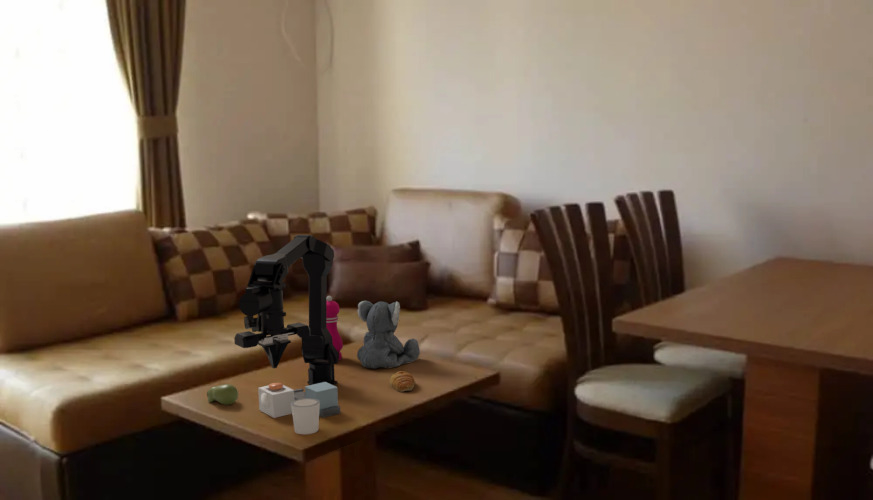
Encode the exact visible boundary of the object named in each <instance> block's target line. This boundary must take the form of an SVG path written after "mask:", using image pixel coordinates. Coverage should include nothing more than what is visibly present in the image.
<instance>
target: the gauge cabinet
mask: <svg viewBox="0 0 873 500" xmlns="http://www.w3.org/2000/svg"><path fill="white" fill-rule="evenodd" d="M257 389H258V390H257V391H258V392H257V394H258V408H259V411H260V412H262V413H264V414H266V415H268V416H270V417H271V418H273V419H276V418H279V417H283V416H287V415H292V408H291V403H292V402H293V401H295V400H294V390H295V389H293V388H291V387H289V386H286V385H284V384H283V388H282V390H281V391H276V392H271V391H270V389H269V384H268V385H265V386H259V387H257Z"/></svg>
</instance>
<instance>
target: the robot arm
mask: <svg viewBox="0 0 873 500" xmlns="http://www.w3.org/2000/svg"><path fill="white" fill-rule="evenodd" d="M334 257H335V251H334V249H333V248H332V247H331V245H330V244H328V243H327V242H324V241H322V240H319V239H317V238H316V237H315V236H313V235H312V234H296V235H294V237H293V239H291V241H289V242H288V243H287V244H285V245H284V246H282V247H281V248H280V249H279V250H278V251H276V252H275V253H273V254H267V255H264V256H261V257H259V258H258V259H257V260H256V261H255V263H254V264H253V267H252V270H251V273H250V276H249V280H248V282H247V286H246V288H245V293H244V294H243V295H242V296H241V297H240V299H239V301H238V307H239V309H240V311H241V313H242V314H243V315H245V316H244V317H243V320H244V321H243V324H244V328H245V329H246V330H248V331H243V332H237V333H236V334H235V336H234V337H233V338H234V345H236V346H238V347H240V348H243V349H249V348H254V347H258V346H261V347H262V348H263V350H264V351H265V353H266V354H265V355H266V356H267V358H268V361H269V363H270V366H271V368H272V369H277V368H278V366H279V363H280V361H281V358H282V357H283V354H284V352H285V350H286V348H287V347H288V345H289V344H291V343H292V341H291V340H290V339H289V336H295V335H296V336H297V337H298V338H299V339H301V348H300V349H301V354H302V358H303V362H304V364H309V368H308V370H307V372H308V373H307V375H308V378H307V379H308V380H307V381H306V383H307V384H309V385H313V384H318V383H322V382H327V383H329V384H331V385H337V384H338V383H339V382H338V381H337V380H335V365H337V364H338V362H339V361H340V360H339V353H338V351H337V350H336V349H335V347H334V346H333V341H332V336H331V334H330V332H329V331H328V329H327V326H326V320H327V296H328V295H327V291H328V288H327V286H328V285H327V282H328V281H327V280H328V279H327V277H328V275H329V273H330V271H331V269H332V267H333V266H334V265H333V264H334V263H333V262H334V259H335V258H334ZM299 259H302V268H303V269H304V270H305V272H306V274H307V275H308V325H307V324H305V323H303V322H294V323H289V324H287V325H286V327H285V318H284V317H286V316H287V312H286V311H284V298H283V297H284V296H283V293H284V292H283V288H286V287H287V284H286V283H285V282H284V280H285V278H286V277H287V276H288V274H289V268H290V267H291V266H292V265H293V264H294V263H296V261H298V260H299ZM256 315H257V317H254V316H256ZM250 329H251V331H249V330H250ZM255 332H258V333H255Z"/></svg>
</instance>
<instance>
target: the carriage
mask: <svg viewBox="0 0 873 500" xmlns="http://www.w3.org/2000/svg"><path fill="white" fill-rule="evenodd" d="M304 392H305V398H312V399H317V400H319V402H320V408H319V417H321V414H320V410H321V409H325V408H329V407H333V406H339V396H338V387H337V386H336V385H335V384H333V385H331V384H329V383H327V382H322V383H318V384H313V385H311V384H309V385H305V386H304Z"/></svg>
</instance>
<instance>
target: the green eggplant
mask: <svg viewBox="0 0 873 500" xmlns="http://www.w3.org/2000/svg"><path fill="white" fill-rule="evenodd" d="M206 396H207V397H206V398H207V401H208V402H209V403H212V402H215V401H217V403H220V404H222V405H225V406H229V405H230V406H231V405H233V404H234V403H235V402H236V401H237V400H238V398H239V391H238V388H236V386H235V385H233V384H230V383H225V384H220V385H218V386H217V385H215V386H213V387H210V388H209V389H207V391H206Z"/></svg>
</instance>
